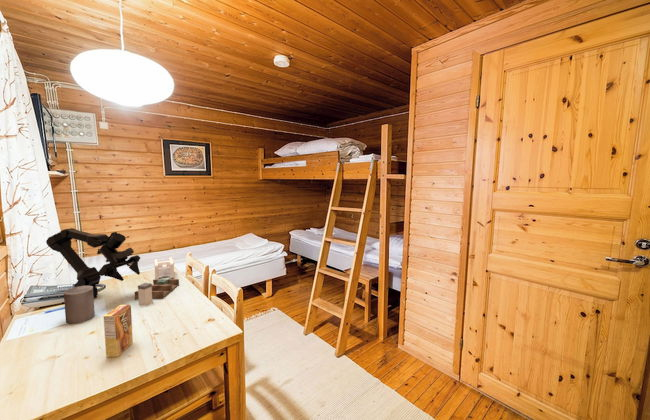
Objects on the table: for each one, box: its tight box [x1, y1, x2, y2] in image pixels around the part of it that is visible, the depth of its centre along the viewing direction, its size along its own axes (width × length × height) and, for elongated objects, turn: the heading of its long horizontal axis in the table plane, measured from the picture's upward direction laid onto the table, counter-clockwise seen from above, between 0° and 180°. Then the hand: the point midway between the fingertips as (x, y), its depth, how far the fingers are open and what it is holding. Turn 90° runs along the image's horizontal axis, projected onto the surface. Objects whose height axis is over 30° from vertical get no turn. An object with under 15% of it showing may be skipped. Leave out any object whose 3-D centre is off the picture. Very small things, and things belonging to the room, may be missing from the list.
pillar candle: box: [63, 286, 96, 325], centre depth 119 cm, size 10×10×15 cm
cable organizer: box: [153, 256, 175, 280], centre depth 172 cm, size 15×11×12 cm
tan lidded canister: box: [137, 282, 153, 307], centre depth 135 cm, size 4×4×10 cm
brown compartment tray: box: [134, 278, 180, 301], centre depth 149 cm, size 14×18×5 cm
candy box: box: [103, 304, 134, 358], centre depth 98 cm, size 9×4×15 cm, turn 6°
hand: (131, 277), depth 136 cm, fingers open, 9 cm apart
